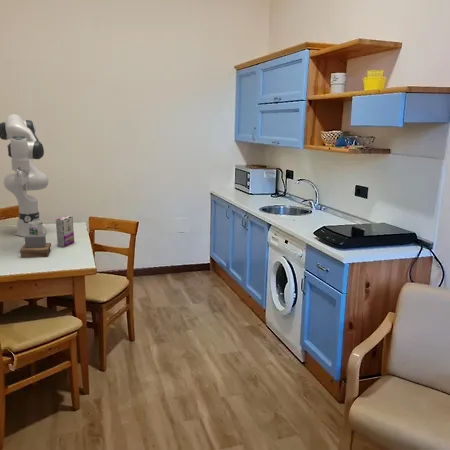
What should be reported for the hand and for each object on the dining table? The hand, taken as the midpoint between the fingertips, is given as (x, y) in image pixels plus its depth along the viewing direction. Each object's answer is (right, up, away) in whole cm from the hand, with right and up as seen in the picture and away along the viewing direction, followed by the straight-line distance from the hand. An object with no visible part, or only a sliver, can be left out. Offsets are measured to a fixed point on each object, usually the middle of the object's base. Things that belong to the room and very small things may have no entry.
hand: (22, 191), depth 259 cm
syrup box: (+1, -31, +16) cm, 34 cm away
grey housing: (+7, -30, 0) cm, 31 cm away
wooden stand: (+7, -34, +1) cm, 35 cm away
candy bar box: (+17, -30, +21) cm, 40 cm away
